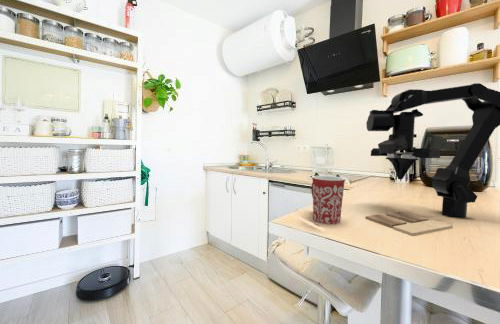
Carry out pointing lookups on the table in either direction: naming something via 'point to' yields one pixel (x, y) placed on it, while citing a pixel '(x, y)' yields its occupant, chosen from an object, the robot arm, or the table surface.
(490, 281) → the table surface
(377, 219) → the plank
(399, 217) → the plank
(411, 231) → the underlay base
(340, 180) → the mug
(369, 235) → the table surface
